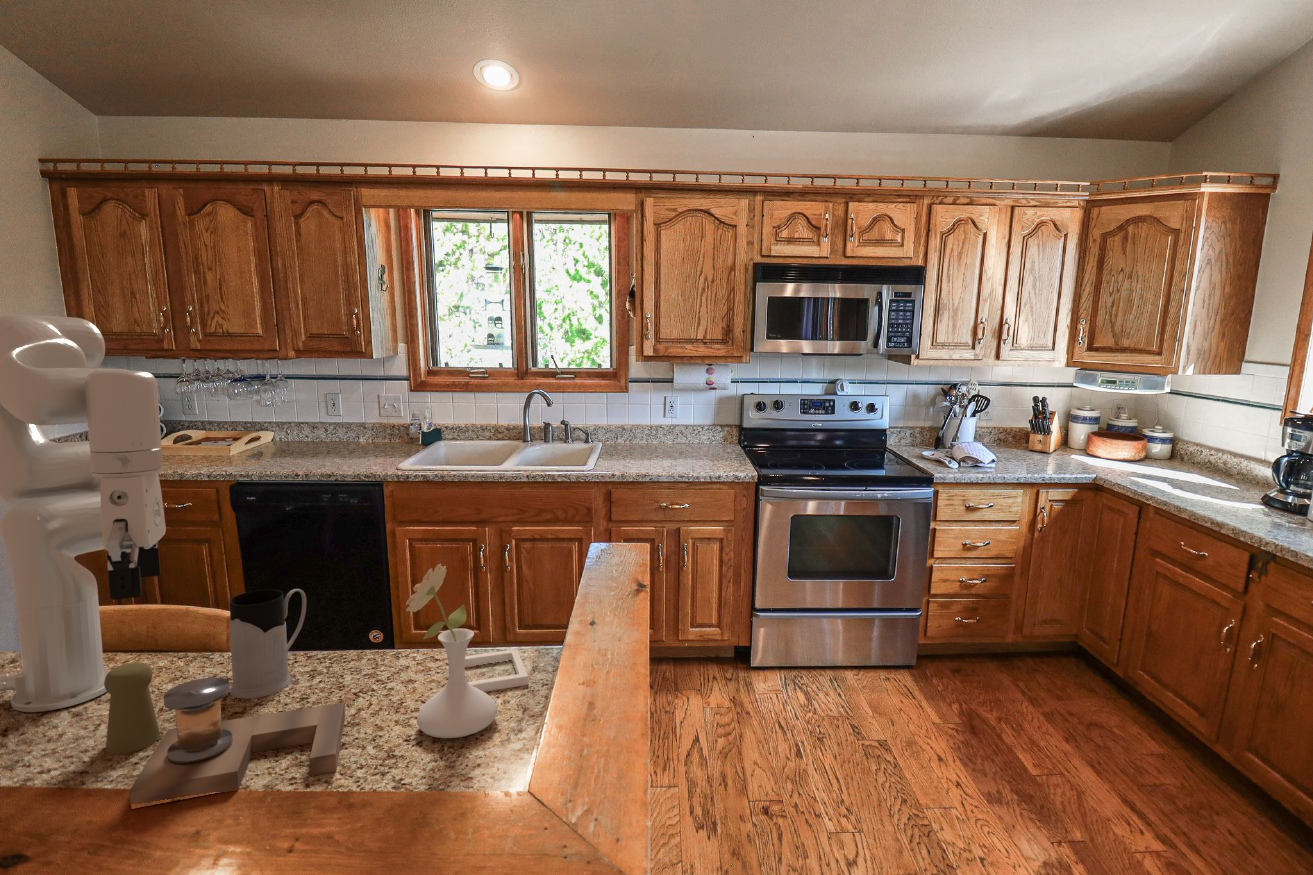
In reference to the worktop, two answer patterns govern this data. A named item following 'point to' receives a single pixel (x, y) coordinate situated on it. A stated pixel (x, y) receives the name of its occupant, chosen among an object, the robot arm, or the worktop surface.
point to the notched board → (243, 753)
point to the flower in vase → (451, 672)
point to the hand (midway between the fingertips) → (137, 586)
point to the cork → (130, 709)
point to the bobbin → (198, 720)
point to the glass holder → (260, 642)
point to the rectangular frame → (499, 681)
